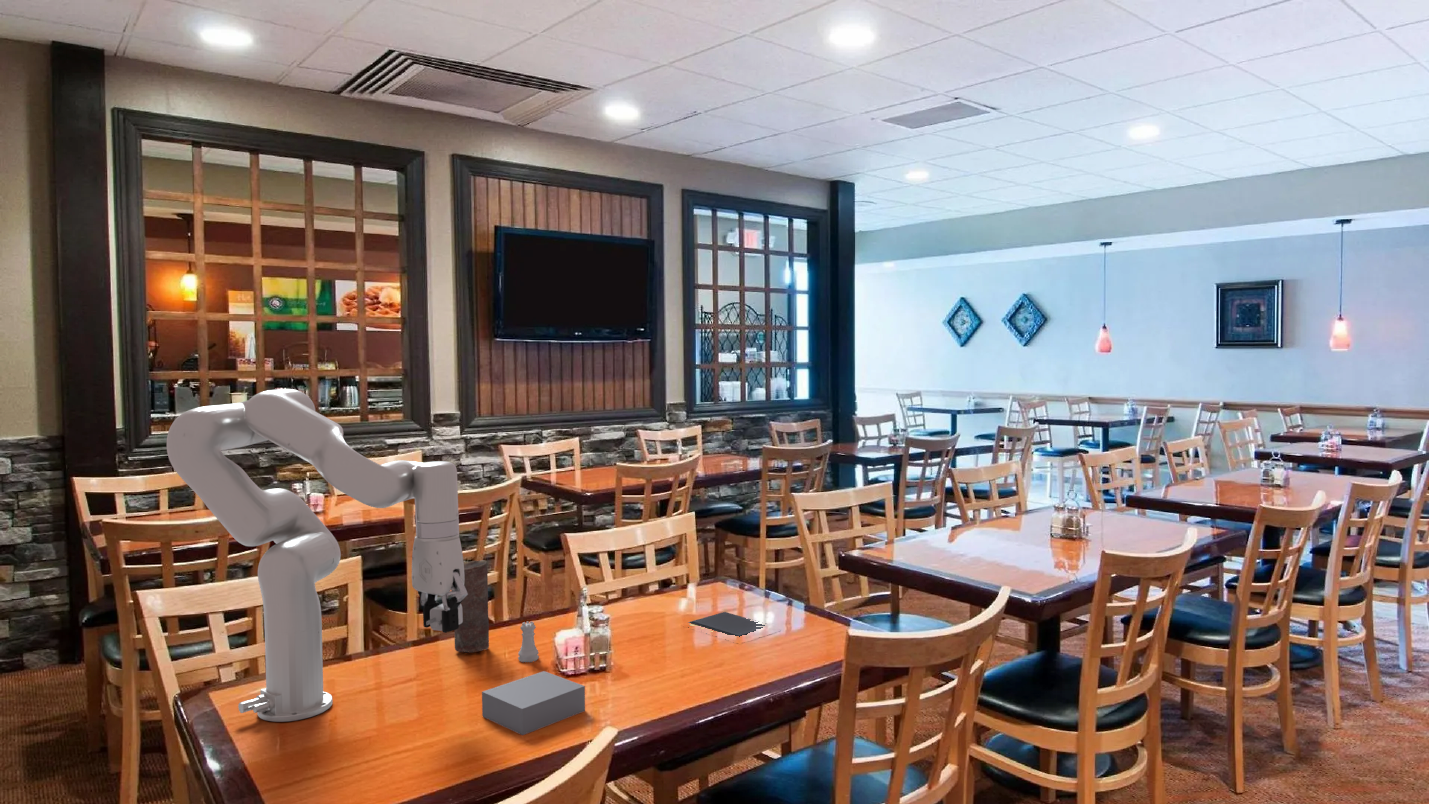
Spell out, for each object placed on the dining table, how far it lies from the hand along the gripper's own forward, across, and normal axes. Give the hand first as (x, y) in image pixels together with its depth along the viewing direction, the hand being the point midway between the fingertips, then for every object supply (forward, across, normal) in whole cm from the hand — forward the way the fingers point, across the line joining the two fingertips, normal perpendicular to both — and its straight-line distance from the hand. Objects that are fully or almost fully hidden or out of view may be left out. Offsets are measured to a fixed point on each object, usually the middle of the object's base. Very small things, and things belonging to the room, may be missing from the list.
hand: (441, 627), depth 163 cm
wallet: (+18, +13, +72) cm, 75 cm away
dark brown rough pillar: (+16, -23, +24) cm, 37 cm away
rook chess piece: (+16, -9, +28) cm, 34 cm away
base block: (+16, +14, +9) cm, 24 cm away
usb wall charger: (+1, 0, 0) cm, 1 cm away
